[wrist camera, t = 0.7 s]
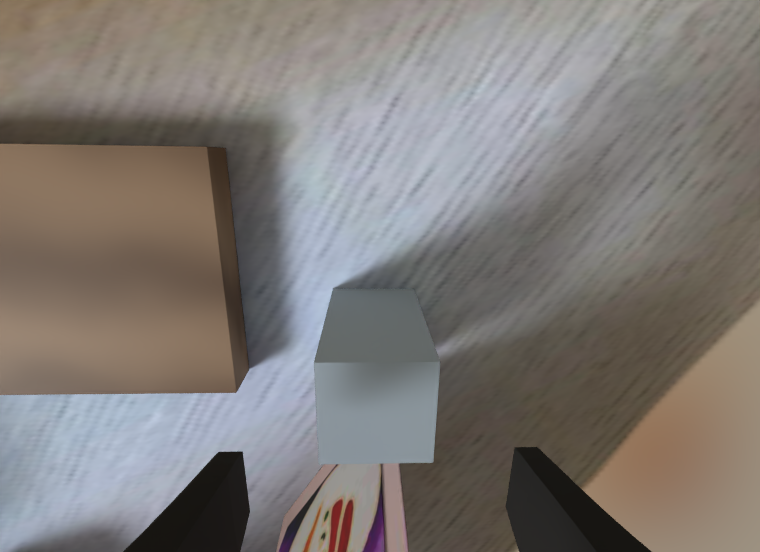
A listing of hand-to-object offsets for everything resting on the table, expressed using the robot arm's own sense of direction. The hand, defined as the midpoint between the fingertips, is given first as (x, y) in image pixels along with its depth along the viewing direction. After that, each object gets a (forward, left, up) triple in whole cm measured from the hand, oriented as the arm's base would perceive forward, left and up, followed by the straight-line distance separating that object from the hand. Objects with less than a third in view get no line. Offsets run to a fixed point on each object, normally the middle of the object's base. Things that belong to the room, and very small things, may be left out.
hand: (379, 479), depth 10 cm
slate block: (0, 0, -10) cm, 10 cm away
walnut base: (+3, +12, -10) cm, 16 cm away
